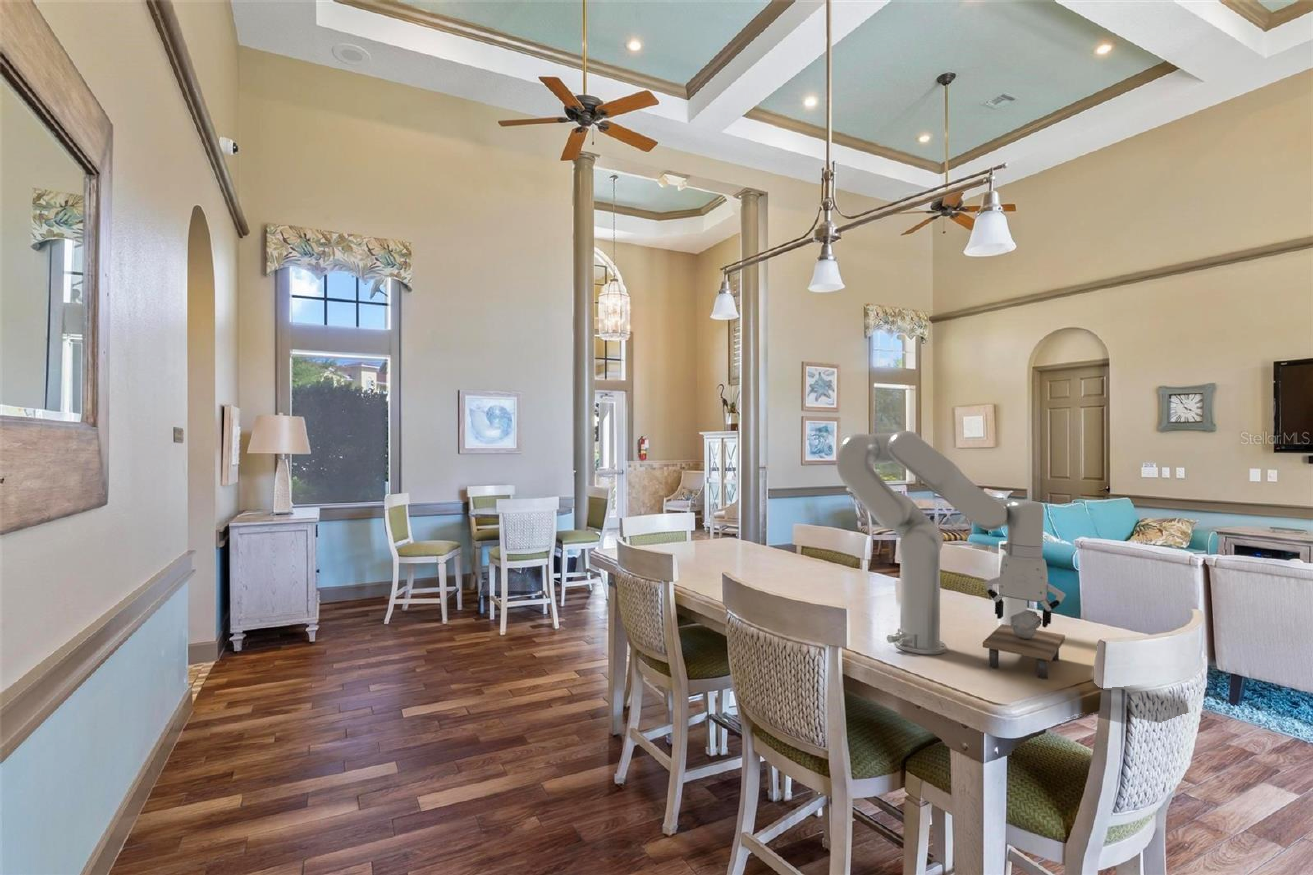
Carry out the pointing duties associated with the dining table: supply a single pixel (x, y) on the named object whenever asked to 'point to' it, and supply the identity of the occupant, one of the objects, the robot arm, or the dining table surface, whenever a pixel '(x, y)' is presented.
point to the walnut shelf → (1024, 647)
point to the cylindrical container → (1009, 599)
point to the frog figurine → (1025, 624)
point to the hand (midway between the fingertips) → (1022, 621)
